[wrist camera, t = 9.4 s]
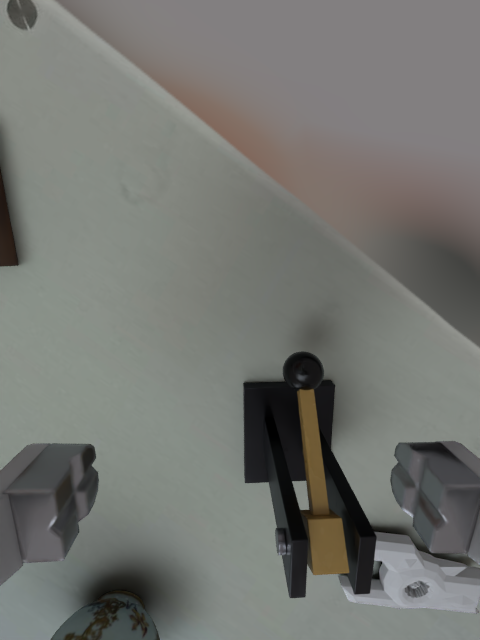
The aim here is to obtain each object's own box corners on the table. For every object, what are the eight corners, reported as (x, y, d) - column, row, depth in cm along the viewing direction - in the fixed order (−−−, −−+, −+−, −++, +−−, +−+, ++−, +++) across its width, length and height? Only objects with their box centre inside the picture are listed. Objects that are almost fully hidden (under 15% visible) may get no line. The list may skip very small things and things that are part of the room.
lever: (278, 357, 25) (284, 347, 22) (314, 356, 25) (326, 346, 22) (295, 556, 20) (306, 578, 17) (341, 554, 20) (360, 575, 17)
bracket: (243, 382, 29) (256, 494, 15) (330, 380, 29) (418, 487, 16) (244, 474, 31) (256, 640, 18) (325, 471, 32) (396, 631, 18)
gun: (513, 566, 31) (484, 631, 33) (487, 535, 34) (462, 596, 37) (349, 547, 31) (330, 614, 33) (338, 518, 34) (322, 581, 36)
